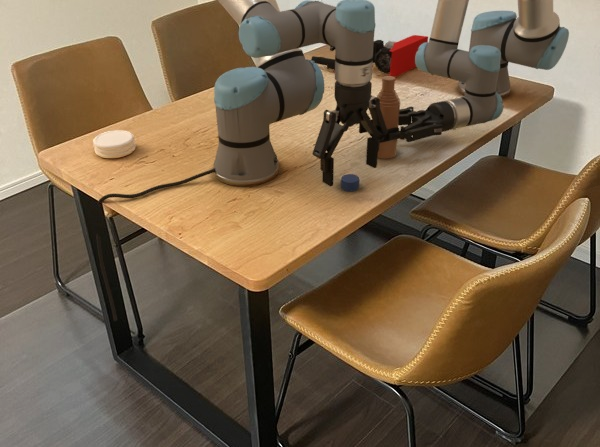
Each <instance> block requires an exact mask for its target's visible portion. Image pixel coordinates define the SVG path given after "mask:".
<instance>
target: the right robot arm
mask: <svg viewBox="0 0 600 447" xmlns="http://www.w3.org/2000/svg"><path fill="white" fill-rule="evenodd" d="M469 2H470V0H438V1H437V4H436V9H435V14H434V19H433V22H432V27H431V31H430V36H429V38H428V43H427V42H425V43H423V44H421V45H420V47H419V48H418V51H417V52H416V56H415V64H416V67H415V68H417V69H418V70H419V71H420V72H424V73H427V74H430V75H432V76H436V77H437V76H438V77H442V78H446V79H450V80H453V81H458V84H457V90H458V92H459V93H460V94H461V95H463V96H461V97H454V98H450V99H446V100H442V101H441V100H440V101H436V102H432V103H430V104H429V105H428V107H426V109H425V110H424V109H420V110H414V106H408V107H405V108H400V112H399V126H400V127H399V126H398V127H396V128H391V129H387V131H388V132H387V134H386V135H382V136H384V140H383V141H380V143H382V142H386V141H391V140H395V139H397V140H401V141H402V140H405V141H406V142H407V143H411V142H415V141H419V140H422V139H426V138H429V137H433V136H435V137H436V136H441V135H442V133H444V132H445V133H446V132H448V131H453V130H454V131H456V130H457V129H462V128H465V127H470V126H475V125H479V124H486V123H488V122H492V121H495V120H497V119H498V118H500V117H501V115H502V113H503V111H504V104H503V98H506V97H508V96H509V95H510V94H511V88H512V86H511V81H510V75H509V69H508V68H509V63H511V64H516V65H519V66H523V67H528V68H532V69H536V70H545V71H549V70H552V69H553V68H555V67H556V66H557V64H558V63H559V61H560V60H561V58H562V56H563V54H564V52H565V50H566V48H567V44H568V42H569V37H570V36H569V35H570V31H569V29H568V28H567V27H565V26H561V24H560V22H561V20H560V17H559V15H558V13H557V12H555V11H554V0H517V12H518V14H517V13H516V11H513V10H490V11H484V12H481V13H478V14H477V15H476V16H474V18H473V21H472V25H471V29H470V37H469V38H470V39H469V47H468V50H463V49H460V48H459V43H460V38H461V34H462V30H463V26H464V22H465V19H466V14H467V10H468V6H469ZM370 120H371V121H372V123H373V120H372V118H371V119H370ZM358 127H359V128H358V133H359V134H364V133H368V132H367V130H366V129H365V128H364V126H363V125H362V124H361V122H360V123H359V124H358Z"/></svg>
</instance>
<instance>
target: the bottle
mask: <svg viewBox="0 0 600 447" xmlns="http://www.w3.org/2000/svg"><path fill="white" fill-rule="evenodd" d="M395 84H396V77H393V76H389V75H385V76H382V78H381V89H380V91H379V92H378V94H377V95H376V97H377V98H379V99H380V109H381V112H382V115H383V118H384V121H385V125H386V128H387V129H391V128H396V127H398V128H399V126H400V125H399V112H400V109H401V100H400V97H399V95H398V93H397V91H396V89H395V86H396V85H395ZM373 124H374V123H373ZM397 152H398V139H395V140H391V141H386V142H382V143H380V146H379V152H378V156H377V159H385V160H387V159H388V160H389V159H393V158H395V157H396V156H397Z"/></svg>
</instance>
